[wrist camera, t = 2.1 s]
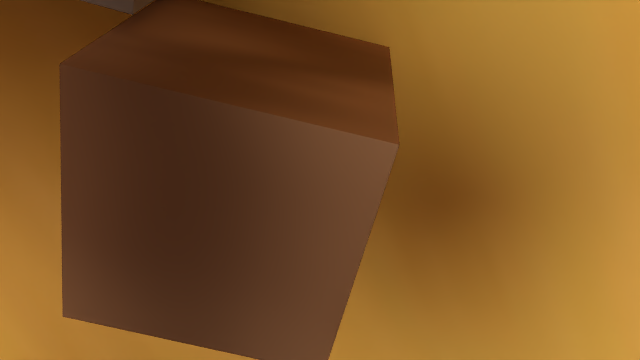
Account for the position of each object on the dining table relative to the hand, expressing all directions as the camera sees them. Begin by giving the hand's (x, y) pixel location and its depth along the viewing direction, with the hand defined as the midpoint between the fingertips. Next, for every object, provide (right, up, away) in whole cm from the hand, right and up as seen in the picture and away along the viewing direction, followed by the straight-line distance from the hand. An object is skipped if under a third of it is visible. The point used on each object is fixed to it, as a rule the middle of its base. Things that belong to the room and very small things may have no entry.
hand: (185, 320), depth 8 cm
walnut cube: (0, +3, +6) cm, 7 cm away
